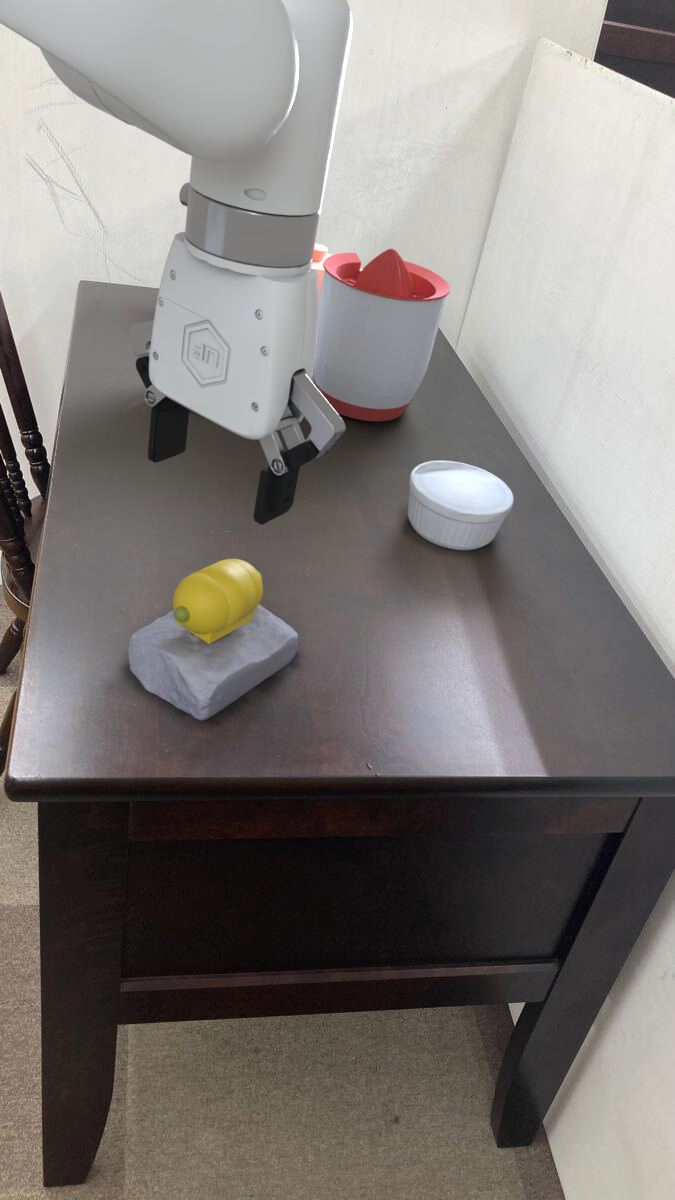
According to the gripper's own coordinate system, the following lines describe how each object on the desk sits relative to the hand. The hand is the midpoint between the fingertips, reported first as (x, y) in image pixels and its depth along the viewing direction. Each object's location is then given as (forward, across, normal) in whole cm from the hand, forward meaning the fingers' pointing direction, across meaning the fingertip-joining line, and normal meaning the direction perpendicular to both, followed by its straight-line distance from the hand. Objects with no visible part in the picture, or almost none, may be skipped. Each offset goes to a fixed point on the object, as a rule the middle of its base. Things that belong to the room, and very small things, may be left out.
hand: (217, 485), depth 62 cm
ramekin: (+16, +3, +37) cm, 40 cm away
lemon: (+13, 0, +2) cm, 13 cm away
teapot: (+16, -42, +67) cm, 81 cm away
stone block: (+17, 0, +2) cm, 17 cm away
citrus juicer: (+16, -21, +54) cm, 61 cm away
